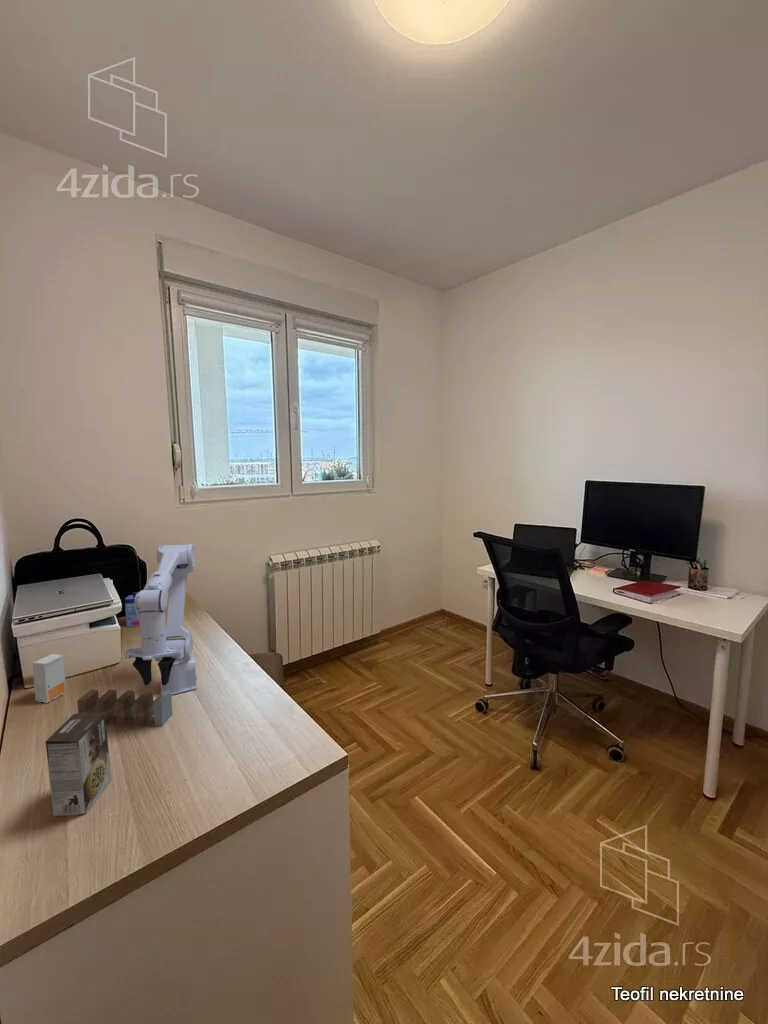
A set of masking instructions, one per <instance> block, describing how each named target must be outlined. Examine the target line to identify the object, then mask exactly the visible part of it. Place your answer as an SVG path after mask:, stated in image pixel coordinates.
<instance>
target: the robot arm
mask: <svg viewBox="0 0 768 1024" xmlns="http://www.w3.org/2000/svg"><path fill="white" fill-rule="evenodd" d="M156 549H157V550H156V562H157V563H158V567H157V570H156V571H154V572H152V573H151V574H150V575H149V577H148V580H147V582H146V584H145V586H144V588H143V589H142V590H140V591H137V592H138V593H136V597H135V605H134V606H135V611H136V613H137V619H138V620H140V626H139V629H140V641H141V642H140V643H141V647H137V648H128V649H127V650H126V651H124V659H125V660H130V659H134V661H133V662H132V666H133V667H134V668H135V669H136V671H137V672H138V673H139V675H140V677H141V679H142V682H143V685H144V686H148V685H149V684H150V683H151V682H152V678H153V676H152V662H153V661H152V660H153V659H154V660H155V662H157V666H158V668H159V672H160V680H161V681H160V682H161V683H160V694H161V693H162V692H163V691H171V696H173V695H177V694H182V693H185V692H190V691H195V690H197V677H198V676H197V673H196V672H197V671H196V670H197V669H196V661H195V656H194V655H193V656H192V654H193V648H194V644H193V634H192V632H191V631H190V630H188V629H186V628H185V627H184V620H185V606H186V605H185V604H186V592H187V580H188V575H189V574H190V573H192V572H194V568H195V559H196V558H195V557H196V555H195V546H194V545H193V544H192V543H189V544H168V545H166V544H165V545H164V544H160V545H159V546H158V547H157V548H156ZM166 609H167V613H166V612H165V611H166ZM165 614H166V615H165Z"/></svg>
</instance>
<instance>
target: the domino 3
mask: <svg viewBox="0 0 768 1024" xmlns="http://www.w3.org/2000/svg"><path fill="white" fill-rule="evenodd" d="M135 691H136V690H134V689H133V690H132V689H131V690H130V689H127V690H125V691H124V692H123V693H122V694H121V695H120V696H119V697H117V700H115V704H116V716H115V718H116V725H117V727H118V726H119V727H120V726H121V727H124V726H127V724H129V722H130V721H131V720H132V719H133V718H134V717H135V703H134V701H135V700H136V693H135Z"/></svg>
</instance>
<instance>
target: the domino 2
mask: <svg viewBox="0 0 768 1024" xmlns="http://www.w3.org/2000/svg"><path fill="white" fill-rule="evenodd" d="M117 699H118V696H117V690H116V689H108V690H107V691H106V692H105V693H103V694H102V695H101V696H99V699H97V700H96V705H97V713H105V720H106V726H107V725H108V724H110V722H111V721H113V720H114V718H116V704H115V700H117Z"/></svg>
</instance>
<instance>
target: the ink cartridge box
mask: <svg viewBox="0 0 768 1024" xmlns="http://www.w3.org/2000/svg"><path fill="white" fill-rule="evenodd" d="M138 592H139V591H134V592H133V591H132V594H130V595H129V594H128V595H127V596H126V597H125V598H124V609H125V611H124V612H125V623H126V625H125V626H126V627H140V620H138V619H137V613H136V611H135V606H134V605H135V597H136V594H137V593H138Z"/></svg>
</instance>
